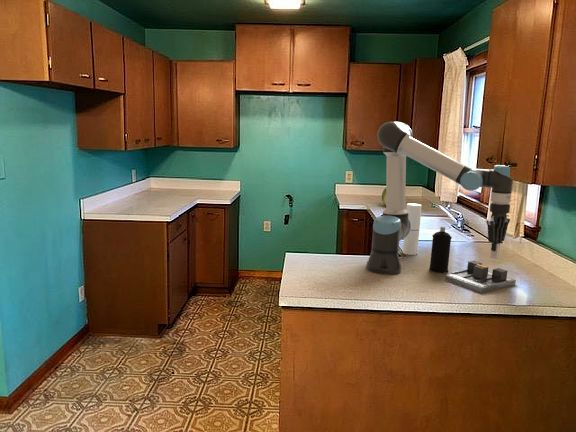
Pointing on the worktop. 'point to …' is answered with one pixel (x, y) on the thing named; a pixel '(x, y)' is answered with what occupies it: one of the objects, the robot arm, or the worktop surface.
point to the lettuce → (384, 196)
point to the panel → (481, 285)
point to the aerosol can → (440, 251)
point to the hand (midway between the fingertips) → (494, 258)
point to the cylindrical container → (412, 229)
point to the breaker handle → (480, 271)
